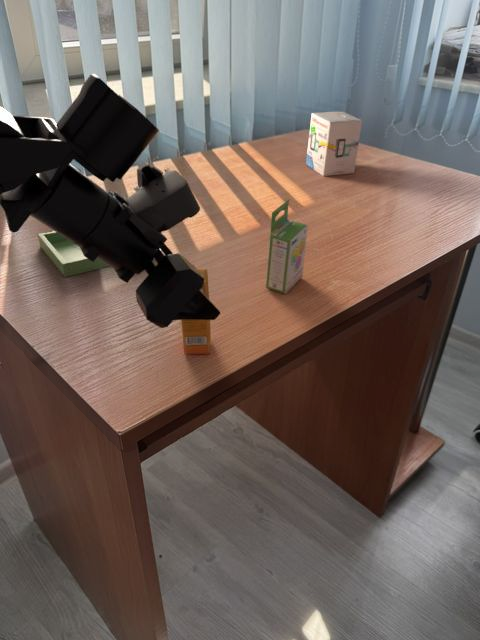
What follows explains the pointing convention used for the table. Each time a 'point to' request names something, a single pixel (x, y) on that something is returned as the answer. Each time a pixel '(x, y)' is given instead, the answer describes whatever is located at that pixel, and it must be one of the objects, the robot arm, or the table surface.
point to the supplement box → (197, 328)
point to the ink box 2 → (333, 143)
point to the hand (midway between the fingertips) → (201, 295)
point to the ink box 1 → (285, 251)
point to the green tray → (67, 254)
